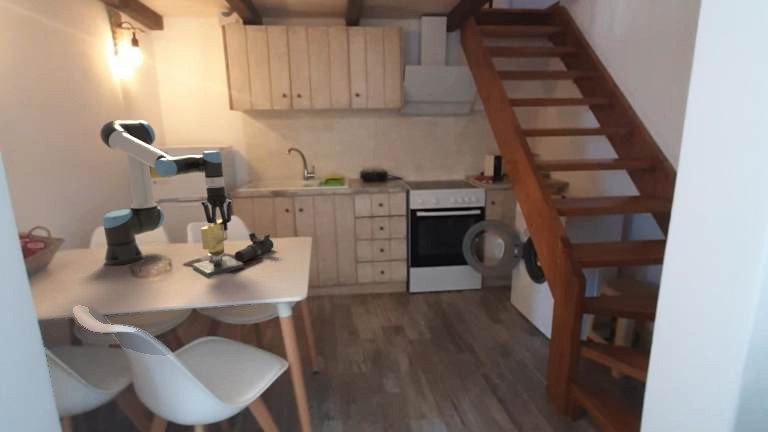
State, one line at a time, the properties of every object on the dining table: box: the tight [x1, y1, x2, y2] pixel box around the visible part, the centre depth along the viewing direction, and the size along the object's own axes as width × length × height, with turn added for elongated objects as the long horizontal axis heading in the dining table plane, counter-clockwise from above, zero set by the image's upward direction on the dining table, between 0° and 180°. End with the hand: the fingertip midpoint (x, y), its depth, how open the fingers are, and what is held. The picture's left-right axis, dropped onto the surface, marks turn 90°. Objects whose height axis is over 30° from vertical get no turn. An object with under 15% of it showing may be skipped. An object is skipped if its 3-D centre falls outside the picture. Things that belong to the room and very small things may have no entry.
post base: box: [192, 253, 245, 278], centre depth 185 cm, size 16×16×7 cm
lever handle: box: [200, 219, 228, 255], centre depth 183 cm, size 6×16×13 cm, turn 173°
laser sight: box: [234, 232, 274, 263], centre depth 201 cm, size 10×22×10 cm, turn 158°
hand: (221, 237), depth 189 cm, fingers closed on lever handle, 2 cm apart
